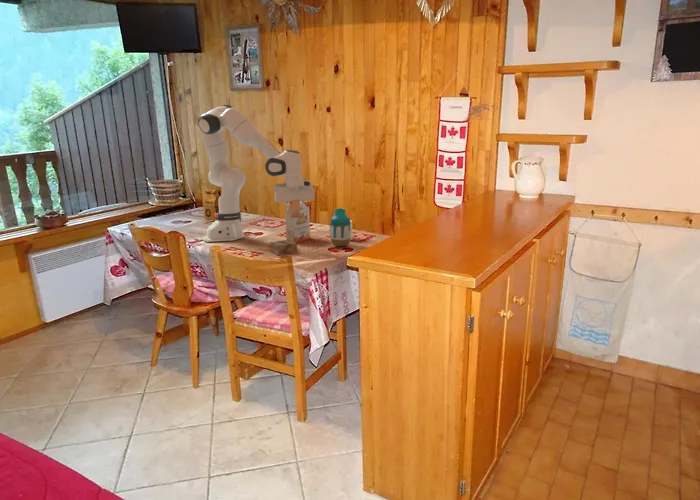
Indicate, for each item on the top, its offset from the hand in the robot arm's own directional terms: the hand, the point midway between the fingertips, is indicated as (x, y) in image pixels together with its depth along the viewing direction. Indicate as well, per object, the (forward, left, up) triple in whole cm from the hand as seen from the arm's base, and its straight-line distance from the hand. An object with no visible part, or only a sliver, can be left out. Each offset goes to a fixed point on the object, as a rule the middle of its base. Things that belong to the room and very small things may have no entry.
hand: (295, 210), depth 260 cm
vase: (+21, -9, -19) cm, 30 cm away
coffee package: (-33, +87, -19) cm, 95 cm away
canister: (0, 0, -4) cm, 4 cm away
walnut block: (-9, -9, -19) cm, 23 cm away
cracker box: (+4, +12, -19) cm, 23 cm away
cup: (+27, +4, -19) cm, 33 cm away
